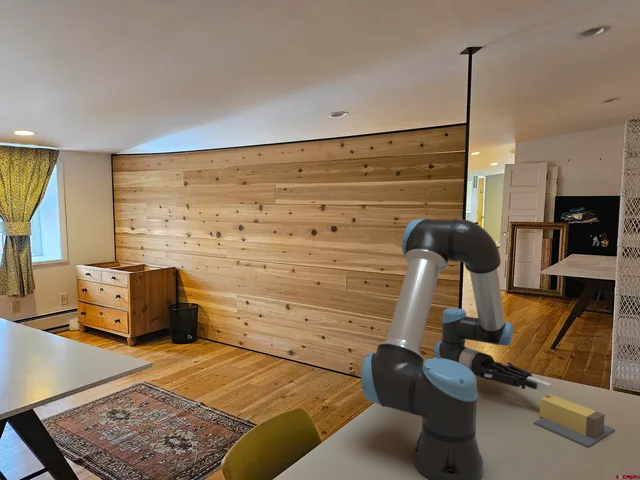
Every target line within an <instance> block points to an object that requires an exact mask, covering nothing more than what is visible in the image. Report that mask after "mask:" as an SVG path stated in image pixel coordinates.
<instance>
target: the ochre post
mask: <svg viewBox="0 0 640 480" xmlns="http://www.w3.org/2000/svg"><path fill="white" fill-rule="evenodd" d="M539 406H540V407H539V417H541V418H546V419H548V420H550V421H553V422H555V423H557V424H560V425H562V426H565V427H567V428H569V429H572V430H574V431H576V432H579V433H581V434H584V435H586V436H588V437H591V438H593V439H595V438H597V437H598V436H600V435H601V434H603V433H604V425H605V415H606V414H605V413H602V412H599V411H596V410H594V409H591V408H588V407H585V406H583V405H581V404H578V403H576V402H572V401H570V400H566V399H564V398H562V397H558V396H555V395H553V394H552V393H551V394H549V395H548V394H547V395H545V396H543V397H541V398H540V405H539Z"/></svg>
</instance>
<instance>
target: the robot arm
mask: <svg viewBox="0 0 640 480" xmlns="http://www.w3.org/2000/svg"><path fill="white" fill-rule="evenodd" d="M401 250H402V254H403V255H404V258H405V261H406V262H407V268H406V272H405V274H404V278H403V282H402V285H401V289H400V292H399V295H398V299H397V302H396V306H395V308H394V312H393V316H392V318H391V324H390V327H389V328H388V329H389V330H388V332H387V336H386V340H385V341H382V342H380V343H379V344H378V346H377V349H376V351H375V352H369V353H368V354H367V355H366V356H365V357H364V359H363V363H362V366H361V372H360V374H361V375H360V381H361V389H362V392H363V395H364V397H365V398H366V399H367V400H368V401H369V402H371V403H373V404H376V405H378V406H380V407H384V408H385V407H387V408H389V409H390V408H391V409H393V410H398V411H400V412H404V413H407V414H411V415H415V416H419V417H421V419H422V427H421V431H420V433H419V437H418V439H417V440H416V441H417V442H416V444H415V446H414V449H413V464H414V467H415V468H416V469H417V471H418V472H419V473H420V474H421V475H422V476H424V477H426V478H427V479H428V480H481V478H482V476H483V473H484V460H483V458H482V455H481V452H480V449H479V445H478V441H477V437H476V432H477V431H476V429H477V406H478V405H477V401H478V397H479V395H478V385H477V377H479V378H482V379H484V380H488V381H489V380H490V381H494V382H497V383H501V384H505V385H508V386H511V387H516V388H520V387H521V389H522V390H525V389H526V387H527V388H529V389H532V390H534V391H537V392H539V393H543V394H545V395H547V396H548V395H550V394H551V395H552V386H553V385H552V383H550V382H547V381H544V380H541V379H538V378H535V377H533V374H532V372H529V371H527V370H524V369H522V368H520V367H518V366H516V365H515V364H513V363H511V362H507V363H506V364H503V363H502V362H499V361H495V360H494V357H493V356H492V355H490V354H488V353H486V352H485V353H484V352H481V351H479V350H476V349H473V348H469V347H466V344H465V343H466V340H469V341H473V342H480V343H484V344H491V345H495V346H506V347H507V346H510V345H511V344H512V342H513V338H514V326H513V323H511V322H508V321H505V317H504V310H503V309H504V308H503V301H502V294H501V287H500V286H501V285H500V278H499V270H498V269H499V267H500V265H501V255H500V250H499V247H498V246H497V243H496V242H495V241H494V239H493V237H492V236H491V235H490V234H489V233H488V232H487V230H486V229H485V228H483V227H482V226H481V225H479V224H477V223H476V222H473V221H471V220H468V219H437V218H436V219H433V218H432V219H431V218H422V219H421V218H420V219H418V218H417V219H413V220H411V221H410V222H409V223H408V224H407V225H406V227H405V229H404V231H403V235H402V242H401ZM448 262H461V263H464V264H463V265H464V268H465V269H466V271H468V272H469V274H470V275H469V276H470V280H471V286H472V292H473V296H474V303H475V307H476V312H477V313H476V314H477V317H473V316H472V317H471V316H467V312H466V310H464V309H463V308H457V307H449V308H446V309H444V310H443V311H442V312H443V314H442V322H441V327H442V328H441V330H442V333H441V334H442V336H441V338H442V339H440V340H439V341H437V342H436V344H435V347H434V349H433V354H434V357H433V358H428V359H426V360H425V361H424V356H423V355H422V354H421V351H420V350H421V346H422V341H423V337H424V333H425V330H426V326H427V322H428V318H429V313H430V311H431V306H432V302H433V298H434V294H435V290H436V286H437V282H438V279H439V274H440V272H443V271H445V270H446V269H447V266H448ZM476 376H477V377H476Z"/></svg>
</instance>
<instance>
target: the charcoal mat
mask: <svg viewBox="0 0 640 480" xmlns="http://www.w3.org/2000/svg"><path fill="white" fill-rule="evenodd" d="M533 425H536V426H538V427H540V428H542V429H545V430H547V431H550V432H551V433H554V434H556V435H558V436H560V437H562V438H565V439H567V440H570V441H572V442H575V443H576V444H579V445H581V446H582V447H585V448H588V449H589V448H590V447H592V446H594V445H595V444H598V442H600V441H601V440H603V439H604V438H605V439H606V437H608V436H609V435H611V434H612V433H614V432H615V430H616V429H615V428H612V427H610V426H608V425H605V424H604V433H603V434H601V435H600V436H598V437H597V438H595V439H593V438H591V437H588V436H586V435H584V434H581V433H579V432H576V431H574V430H572V429H569V428H567V427H565V426H562V425H560V424H557V423H555V422H553V421H550V420H548V419H546V418H543V417H541V418H539V419H537V420H535V421H534V422H533Z"/></svg>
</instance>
